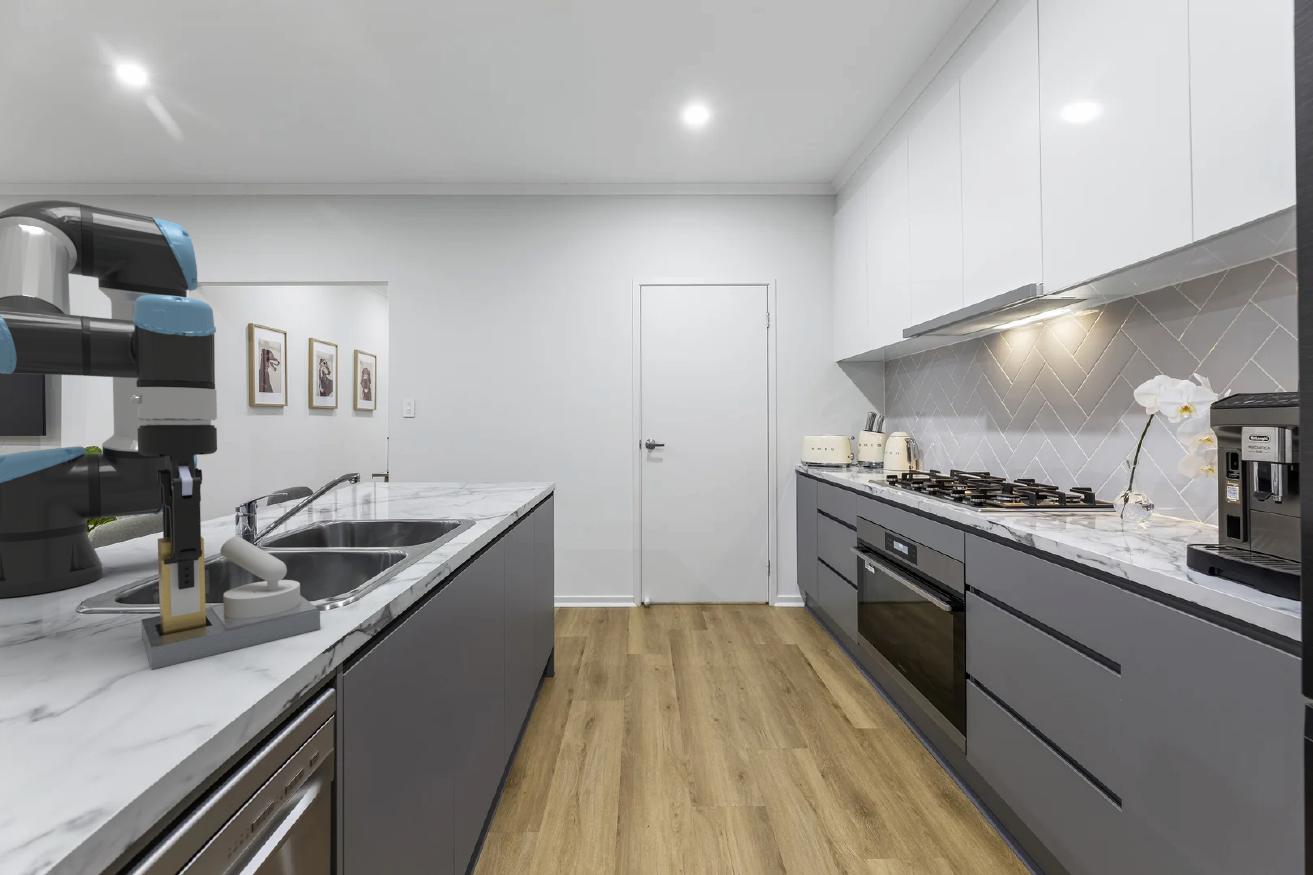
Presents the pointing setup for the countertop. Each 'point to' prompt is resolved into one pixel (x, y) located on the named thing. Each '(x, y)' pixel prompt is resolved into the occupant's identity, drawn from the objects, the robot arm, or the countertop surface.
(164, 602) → the yellow block
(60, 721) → the countertop surface
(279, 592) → the white tilted spotlight lamp
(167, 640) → the block
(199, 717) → the countertop surface
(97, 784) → the countertop surface
